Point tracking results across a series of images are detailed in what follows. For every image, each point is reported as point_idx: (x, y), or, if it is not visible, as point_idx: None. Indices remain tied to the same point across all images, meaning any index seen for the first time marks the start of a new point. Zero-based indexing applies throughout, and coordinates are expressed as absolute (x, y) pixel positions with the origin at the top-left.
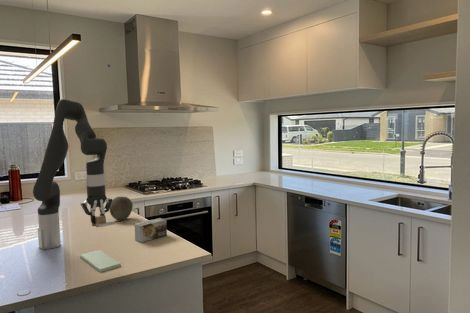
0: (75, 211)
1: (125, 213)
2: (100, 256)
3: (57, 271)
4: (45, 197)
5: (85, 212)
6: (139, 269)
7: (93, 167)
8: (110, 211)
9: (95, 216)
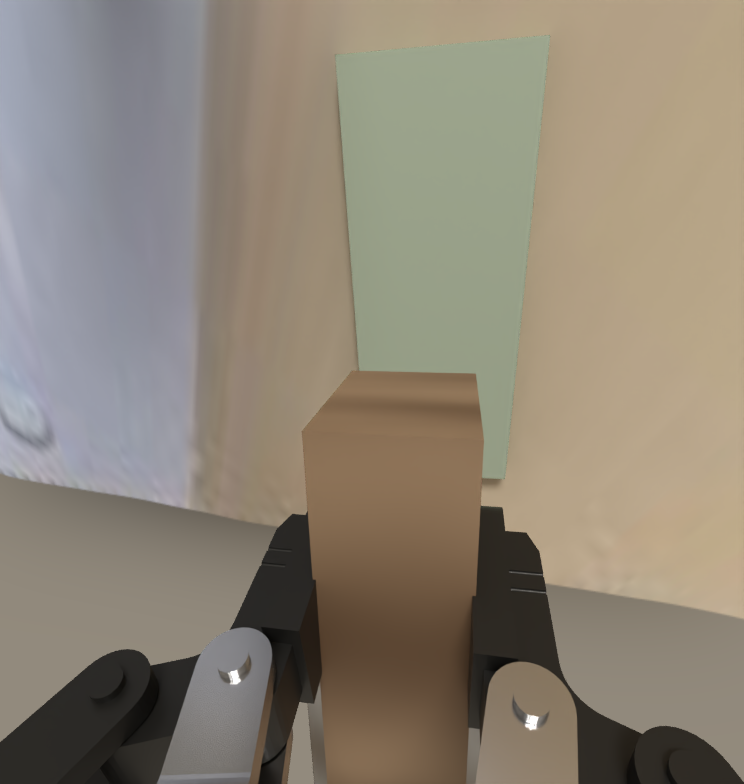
0: None
1: None
2: (464, 256)
3: (153, 268)
4: None
5: (54, 722)
6: (550, 567)
7: None
8: None
9: (418, 449)
